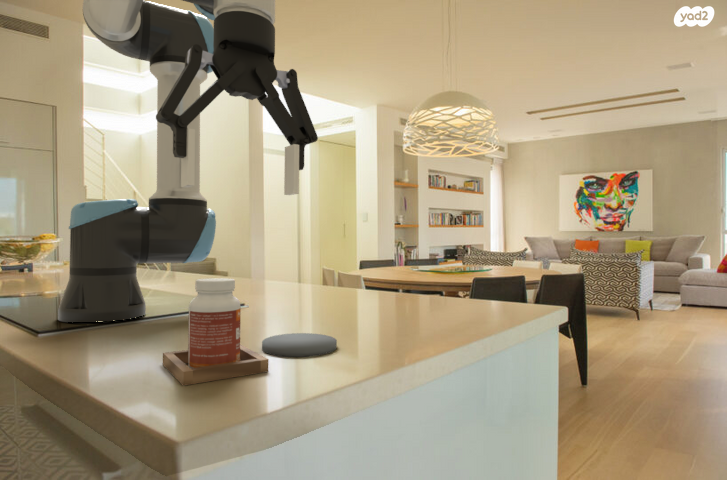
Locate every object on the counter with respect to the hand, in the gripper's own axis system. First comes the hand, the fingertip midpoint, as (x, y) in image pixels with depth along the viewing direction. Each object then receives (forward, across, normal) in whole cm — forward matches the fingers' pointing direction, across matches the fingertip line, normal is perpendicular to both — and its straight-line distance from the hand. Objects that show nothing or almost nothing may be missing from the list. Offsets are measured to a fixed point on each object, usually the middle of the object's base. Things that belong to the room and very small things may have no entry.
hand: (243, 191), depth 59 cm
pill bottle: (+22, -3, +2) cm, 23 cm away
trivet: (+22, +11, +5) cm, 25 cm away
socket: (+22, -3, +2) cm, 22 cm away
